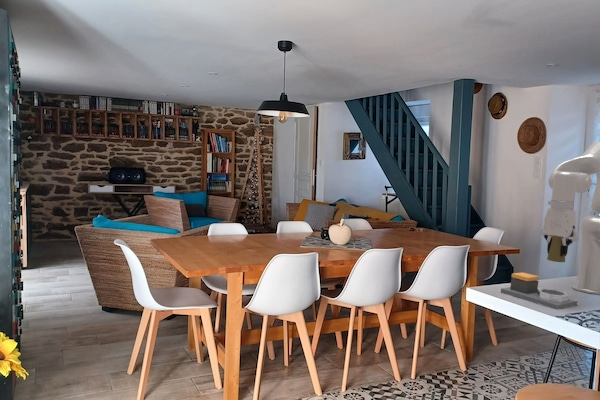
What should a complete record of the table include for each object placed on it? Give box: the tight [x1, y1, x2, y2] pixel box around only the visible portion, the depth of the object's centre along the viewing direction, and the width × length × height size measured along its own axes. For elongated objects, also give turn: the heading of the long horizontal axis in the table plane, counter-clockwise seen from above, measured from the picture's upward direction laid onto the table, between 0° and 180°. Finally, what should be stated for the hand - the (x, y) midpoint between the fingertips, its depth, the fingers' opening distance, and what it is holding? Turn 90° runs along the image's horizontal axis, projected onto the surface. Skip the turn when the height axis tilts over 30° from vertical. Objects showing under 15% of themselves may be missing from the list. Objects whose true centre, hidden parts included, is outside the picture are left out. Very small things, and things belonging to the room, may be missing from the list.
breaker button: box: [511, 271, 540, 281], centre depth 195 cm, size 7×7×4 cm
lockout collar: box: [537, 288, 569, 303], centre depth 185 cm, size 10×10×2 cm
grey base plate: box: [500, 277, 578, 310], centre depth 190 cm, size 13×23×6 cm, turn 33°
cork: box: [546, 235, 566, 263], centre depth 184 cm, size 6×6×11 cm
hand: (556, 254), depth 184 cm, fingers closed on cork, 4 cm apart
